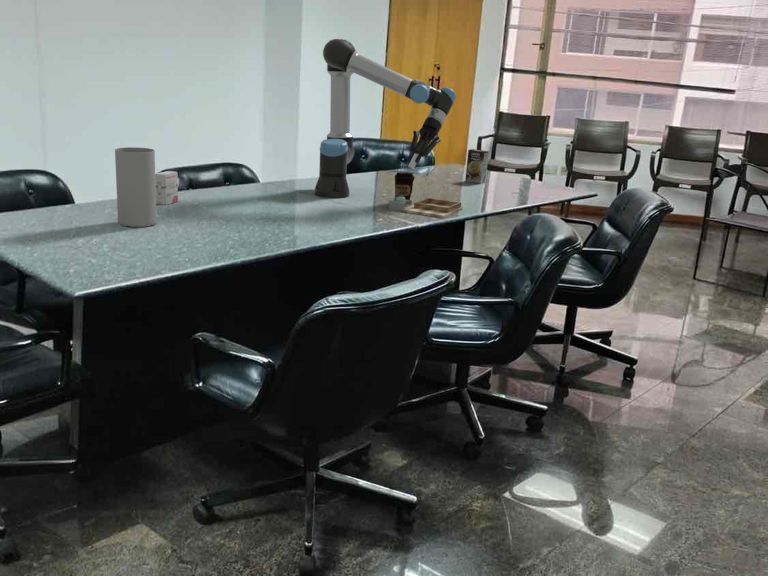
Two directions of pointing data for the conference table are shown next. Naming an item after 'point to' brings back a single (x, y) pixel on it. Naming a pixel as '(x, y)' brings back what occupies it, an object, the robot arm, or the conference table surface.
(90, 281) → the conference table surface
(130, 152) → the cylinder vase
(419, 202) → the tray
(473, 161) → the coffee box
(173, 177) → the ink box
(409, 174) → the coffee cup
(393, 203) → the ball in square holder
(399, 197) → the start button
